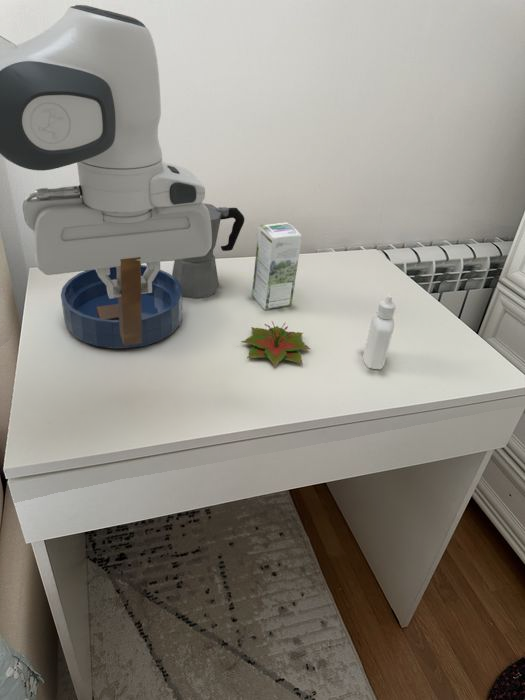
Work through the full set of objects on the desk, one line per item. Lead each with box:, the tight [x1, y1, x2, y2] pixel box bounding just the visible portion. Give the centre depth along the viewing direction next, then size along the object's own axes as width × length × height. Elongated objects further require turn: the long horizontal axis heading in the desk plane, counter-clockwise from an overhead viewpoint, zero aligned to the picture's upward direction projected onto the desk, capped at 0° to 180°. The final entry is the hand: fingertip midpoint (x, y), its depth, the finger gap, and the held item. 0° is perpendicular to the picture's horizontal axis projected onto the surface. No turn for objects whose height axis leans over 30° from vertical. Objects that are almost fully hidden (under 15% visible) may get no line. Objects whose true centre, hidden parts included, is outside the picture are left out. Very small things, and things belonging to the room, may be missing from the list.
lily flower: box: [240, 320, 311, 368], centre depth 86 cm, size 12×12×5 cm
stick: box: [116, 257, 142, 346], centre depth 67 cm, size 2×2×14 cm
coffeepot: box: [171, 202, 245, 299], centre depth 97 cm, size 15×9×18 cm, turn 103°
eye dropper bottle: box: [362, 294, 396, 370], centre depth 84 cm, size 4×6×12 cm
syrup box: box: [251, 221, 303, 311], centre depth 96 cm, size 6×6×14 cm
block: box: [96, 304, 119, 320], centre depth 85 cm, size 4×4×4 cm
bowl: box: [60, 264, 183, 349], centre depth 90 cm, size 19×19×6 cm
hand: (130, 293), depth 66 cm, fingers closed on stick, 2 cm apart
